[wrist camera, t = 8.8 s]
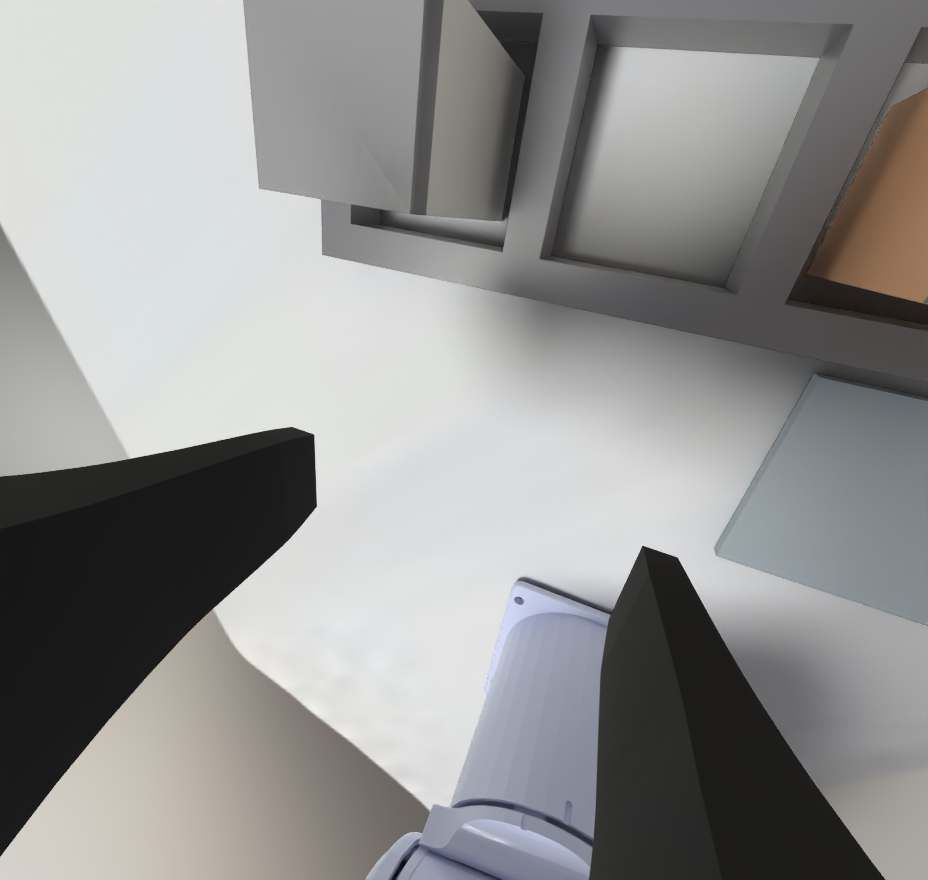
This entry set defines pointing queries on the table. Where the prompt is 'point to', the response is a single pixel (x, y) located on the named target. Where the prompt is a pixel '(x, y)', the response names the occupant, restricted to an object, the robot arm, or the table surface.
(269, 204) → the table surface
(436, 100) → the twin plug
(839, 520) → the mat
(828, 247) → the plug
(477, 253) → the gray slotted rack
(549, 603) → the robot arm
